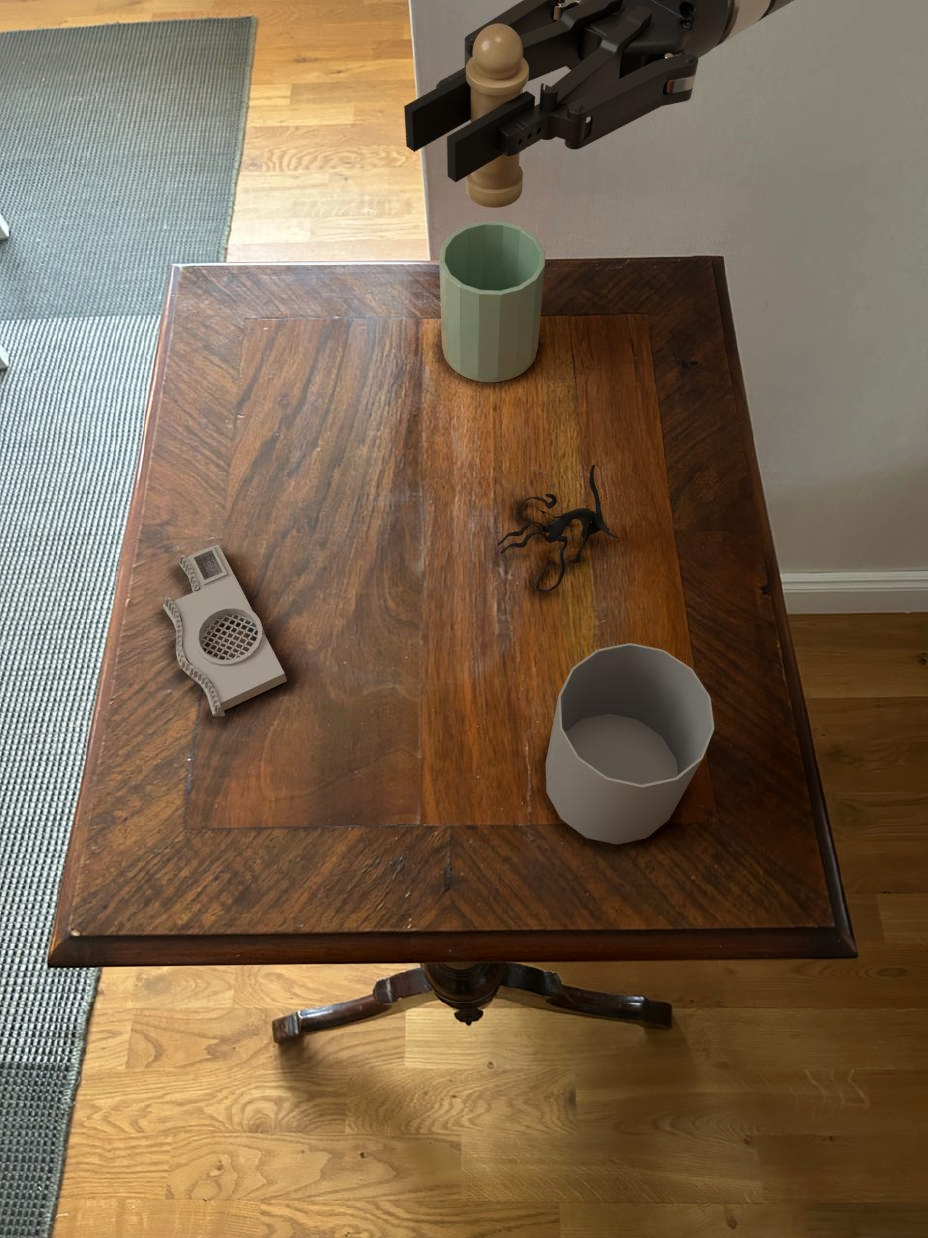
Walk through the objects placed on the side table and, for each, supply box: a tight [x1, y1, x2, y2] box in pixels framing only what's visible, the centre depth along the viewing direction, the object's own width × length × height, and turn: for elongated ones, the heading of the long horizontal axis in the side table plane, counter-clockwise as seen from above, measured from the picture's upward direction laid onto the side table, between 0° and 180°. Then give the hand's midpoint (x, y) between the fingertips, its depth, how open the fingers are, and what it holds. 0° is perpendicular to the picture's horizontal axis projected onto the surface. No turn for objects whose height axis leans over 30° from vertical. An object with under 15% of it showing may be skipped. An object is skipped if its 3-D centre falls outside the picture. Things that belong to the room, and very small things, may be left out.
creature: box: [497, 464, 619, 593], centre depth 69 cm, size 8×5×8 cm
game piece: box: [465, 24, 529, 209], centre depth 63 cm, size 4×4×11 cm
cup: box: [545, 642, 715, 845], centre depth 59 cm, size 8×8×10 cm
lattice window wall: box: [162, 543, 288, 718], centre depth 67 cm, size 12×2×6 cm
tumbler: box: [438, 220, 546, 383], centre depth 77 cm, size 8×8×9 cm
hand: (430, 144), depth 61 cm, fingers closed on game piece, 3 cm apart
